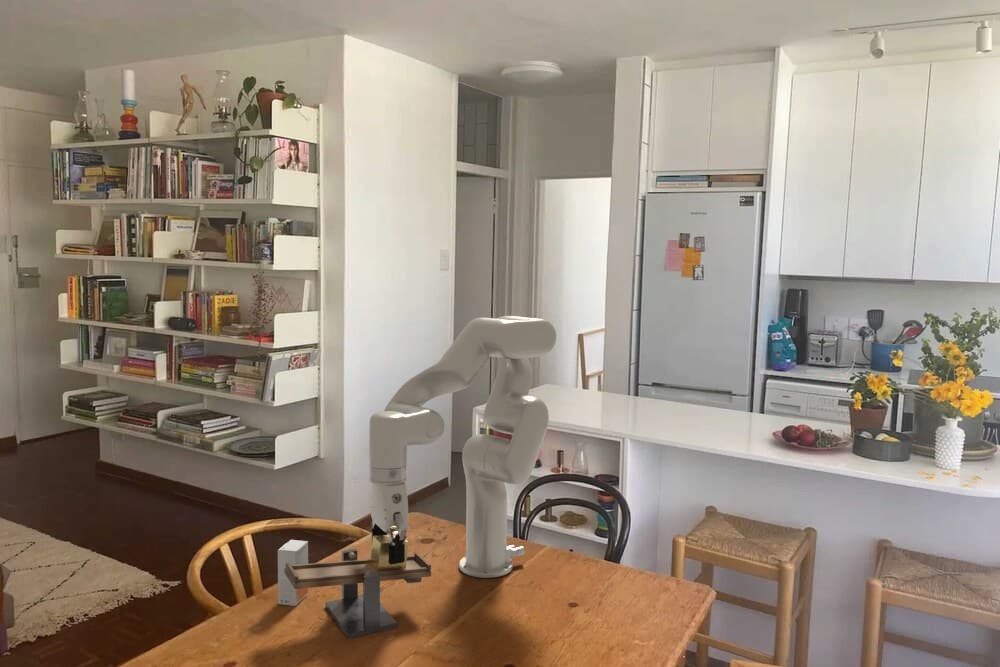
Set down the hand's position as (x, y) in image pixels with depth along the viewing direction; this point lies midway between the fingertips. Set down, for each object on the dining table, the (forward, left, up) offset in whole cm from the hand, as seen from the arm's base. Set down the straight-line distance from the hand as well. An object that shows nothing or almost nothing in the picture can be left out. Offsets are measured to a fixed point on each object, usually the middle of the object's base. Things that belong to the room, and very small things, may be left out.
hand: (387, 554), depth 160 cm
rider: (0, 0, -3) cm, 3 cm away
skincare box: (+16, -14, -12) cm, 25 cm away
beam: (+6, 0, -5) cm, 8 cm away
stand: (+6, 0, -12) cm, 14 cm away
